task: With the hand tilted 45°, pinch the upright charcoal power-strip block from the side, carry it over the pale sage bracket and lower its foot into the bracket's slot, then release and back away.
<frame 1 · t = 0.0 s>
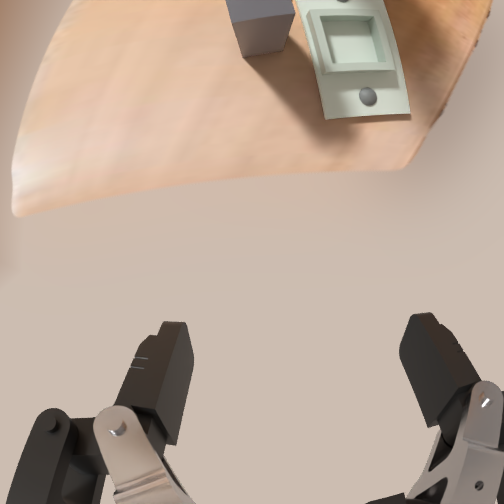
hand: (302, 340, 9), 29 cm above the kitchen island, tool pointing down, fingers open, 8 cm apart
power strip: (258, 38, 28), on the kitchen island
bracket: (353, 44, 27), on the kitchen island
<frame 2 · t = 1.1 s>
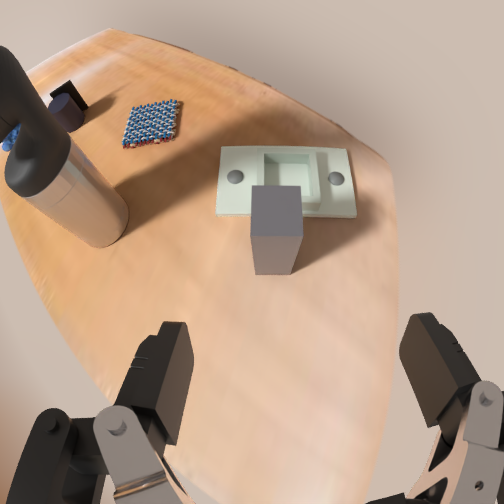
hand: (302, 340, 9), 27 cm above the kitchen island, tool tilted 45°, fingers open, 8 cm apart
power strip: (272, 256, 38), on the kitchen island
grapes: (35, 149, 49), on the kitchen island
speaker: (78, 122, 50), on the kitchen island
bracket: (286, 180, 42), on the kitchen island
woven mat: (152, 127, 48), on the kitchen island
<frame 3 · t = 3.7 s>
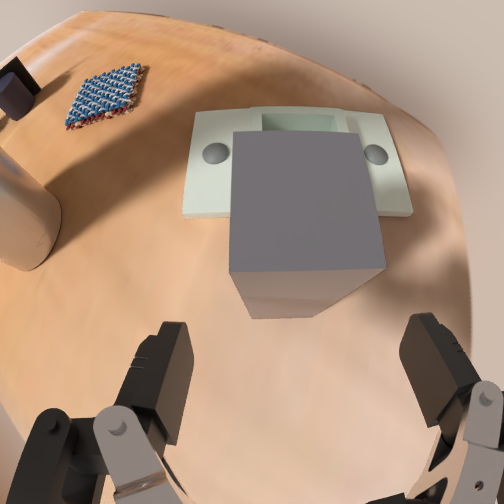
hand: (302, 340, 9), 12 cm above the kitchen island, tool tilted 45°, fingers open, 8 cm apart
power strip: (281, 285, 22), on the kitchen island
speaker: (27, 108, 33), on the kitchen island
bracket: (297, 158, 25), on the kitchen island
woven mat: (107, 101, 31), on the kitchen island
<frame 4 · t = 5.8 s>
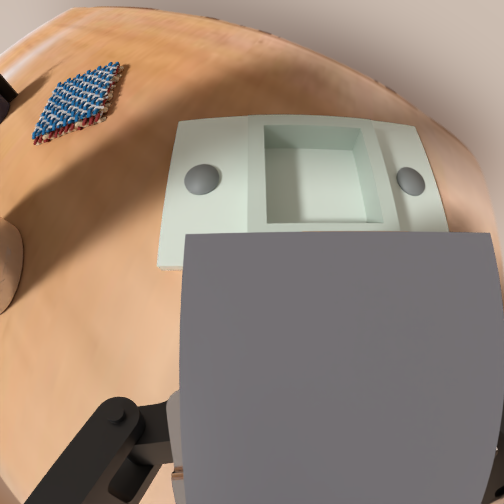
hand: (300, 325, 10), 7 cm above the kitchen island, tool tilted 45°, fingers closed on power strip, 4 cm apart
power strip: (287, 364, 16), on the kitchen island, touching gripper
speaker: (2, 116, 28), on the kitchen island
bracket: (311, 184, 19), on the kitchen island
woven mat: (80, 107, 25), on the kitchen island
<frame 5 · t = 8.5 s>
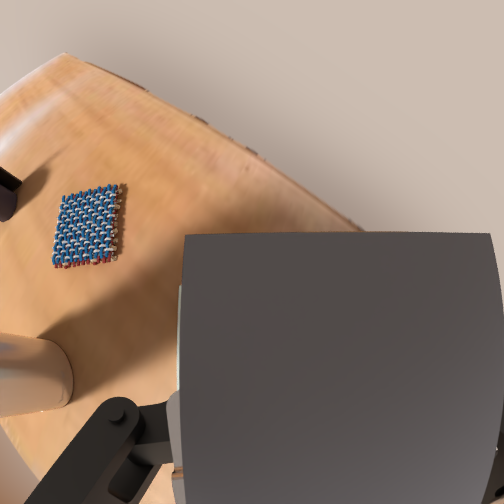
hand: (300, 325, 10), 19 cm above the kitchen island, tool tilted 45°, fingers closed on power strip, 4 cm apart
power strip: (287, 364, 16), point 12 cm above the kitchen island, touching gripper
speaker: (11, 206, 36), on the kitchen island
woven mat: (89, 230, 33), on the kitchen island
when the fingers open (9 cm above the kitchen island, at t = 11.1 s): power strip stays where it is, resting on bracket.
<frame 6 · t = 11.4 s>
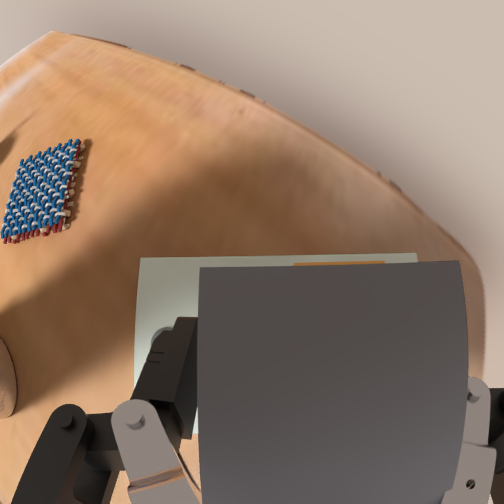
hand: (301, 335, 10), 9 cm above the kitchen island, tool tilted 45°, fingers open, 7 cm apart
power strip: (286, 365, 17), point 1 cm above the kitchen island, touching bracket
bracket: (284, 347, 18), on the kitchen island
woven mat: (45, 197, 24), on the kitchen island
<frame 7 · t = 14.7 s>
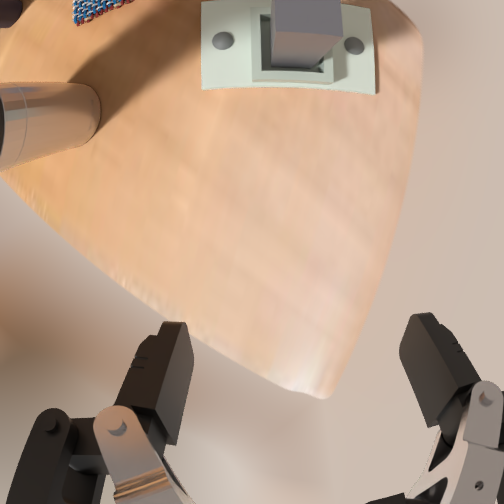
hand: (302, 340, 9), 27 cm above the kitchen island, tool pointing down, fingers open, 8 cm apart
power strip: (290, 48, 26), point 1 cm above the kitchen island, touching bracket
speaker: (16, 12, 20), on the kitchen island
bracket: (289, 41, 26), on the kitchen island
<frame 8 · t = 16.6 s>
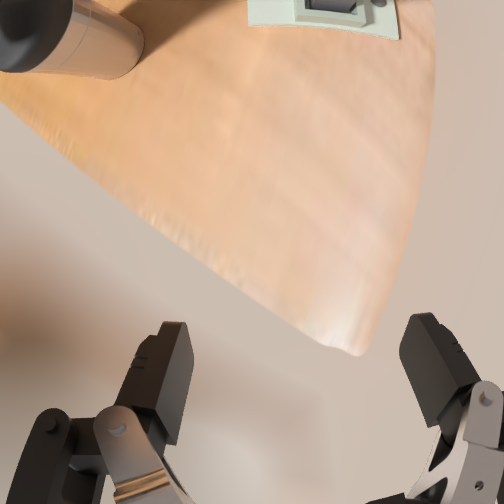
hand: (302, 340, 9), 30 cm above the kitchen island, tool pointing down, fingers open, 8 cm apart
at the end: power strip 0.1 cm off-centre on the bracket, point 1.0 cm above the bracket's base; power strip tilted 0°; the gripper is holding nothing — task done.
